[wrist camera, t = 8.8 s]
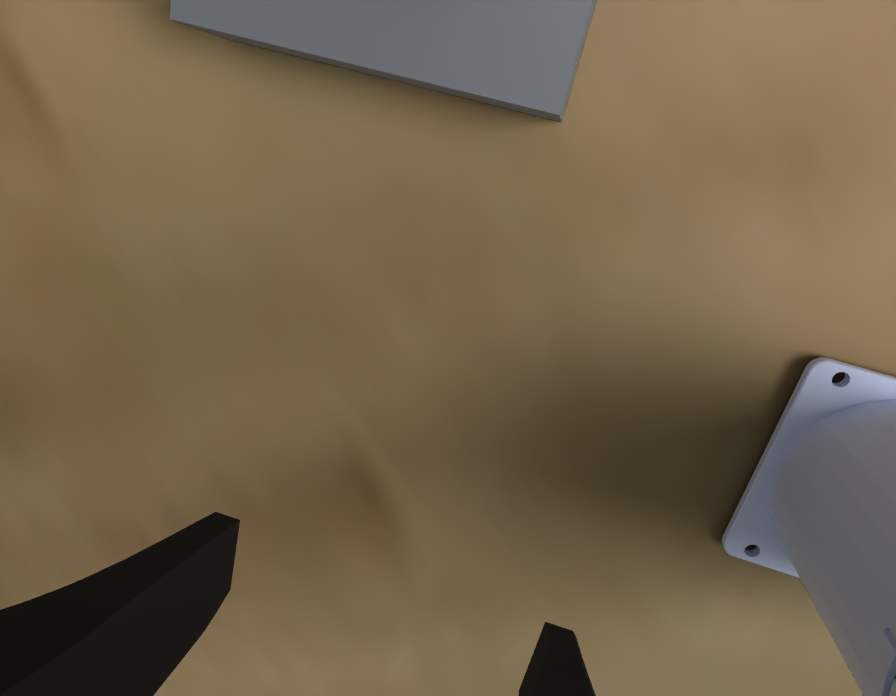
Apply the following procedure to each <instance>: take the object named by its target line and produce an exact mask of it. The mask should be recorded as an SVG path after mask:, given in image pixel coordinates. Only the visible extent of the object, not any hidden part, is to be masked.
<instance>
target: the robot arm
mask: <svg viewBox="0 0 896 696" xmlns="http://www.w3.org/2000/svg"><path fill="white" fill-rule="evenodd" d="M839 372H844V373H845V377H844V379H843V380H842V381H841V382H838V383H832V377H833V376H834V375H835V374H836V373H839ZM239 523H240V520H238V519H235V518H232V517H229V516H226V515H223V514H220V513H217V512H215V513H213V514H211V515H209V516H207V517H205V518H203V519H201V520H199V521H197V522H195V523H193V524H192V525H190V526H188V527H186V528H184V529H182V530H180V531H179V532H177V533H175V534H173V535H171V536H169V537H167V538H166V539H164V540H162V541H160V542H158V543H156V544H154V545H152V546H150V547H148V548H146V549H144V550H142V551H140V552H138V553H137V554H135V555H133V556H131V557H129V558H127V559H125V560H123V561H121V562H119V563H116V564H114V565H112V566H110V567H108V568H106V569H103V570H101V571H99V572H97V573H95V574H93V575H90V576H88V577H86V578H84V579H82V580H79V581H77V582H75V583H72V584H70V585H67V586H65V587H63V588H60V589H58V590H55V591H52V592H50V593H47V594H44V595H42V596H39V597H37V598H34V599H31V600H29V601H26V602H23V603H20V604H17V605H14V606H11V607H8V608H5V609H2V610H0V696H153V695H154V694H155V693H156V691H157V690H158V689H159V688H160V686H161V685H162V684H163V683H164V681H165V680H166V679H167V678H168V676H169V675H170V674H171V673H172V671H173V670H174V669H175V668H176V666H177V665H178V664H179V663H180V661H181V660H182V659H183V658H184V656H185V655H186V654H187V653H188V651H189V650H190V649H191V647H192V646H193V645H194V644H195V642H196V641H197V640H198V639H199V637H200V636H201V635H202V633H203V632H204V631H205V629H206V628H207V626H208V625H209V623H210V621H211V620H212V618H213V617H214V615H215V614H216V612H217V610H218V609H219V607H220V606H221V604H222V602H223V601H224V599H225V597H226V596H227V594H228V592H229V591H230V588H231V580H232V573H233V566H234V559H235V552H236V544H237V537H238V530H239ZM722 544H723V547H724V549H725V551H726V552H727V553H728V554H729V555H731V556H733V557H737V558H740V559H743V560H746V561H749V562H752V563H755V564H758V565H761V566H764V567H767V568H770V569H773V570H777V571H780V572H783V573H786V574H789V575H792V576H795V577H798V578H800V579H801V581H802V583H803V585H804V586H805V588H806V590H807V592H808V594H809V596H810V597H811V599H812V601H813V603H814V605H815V607H816V609H817V610H818V612H819V614H820V616H821V618H822V620H823V622H824V623H825V625H826V627H827V629H828V631H829V633H830V634H831V636H832V638H833V640H834V642H835V644H836V646H837V647H838V649H839V651H840V653H841V655H842V657H843V659H844V660H845V662H846V664H847V666H848V668H849V670H850V672H851V673H852V675H853V677H854V679H855V681H856V683H857V684H858V686H859V688H860V690H861V692H862V694H863V696H896V377H894V376H890V375H887V374H883V373H880V372H876V371H873V370H869V369H865V368H862V367H858V366H855V365H851V364H848V363H844V362H841V361H837V360H833V359H830V358H823V357H820V358H816V359H814V360H812V361H811V362H809V363H808V365H807V366H806V367H805V369H804V371H803V373H802V375H801V377H800V379H799V381H798V383H797V386H796V388H795V390H794V392H793V394H792V396H791V398H790V400H789V402H788V404H787V406H786V408H785V410H784V412H783V414H782V416H781V418H780V420H779V422H778V424H777V426H776V428H775V430H774V432H773V434H772V436H771V439H770V441H769V443H768V445H767V447H766V449H765V451H764V453H763V455H762V457H761V459H760V461H759V463H758V465H757V467H756V469H755V471H754V473H753V475H752V477H751V479H750V481H749V483H748V485H747V487H746V489H745V492H744V494H743V496H742V498H741V500H740V502H739V504H738V506H737V508H736V510H735V512H734V514H733V516H732V518H731V520H730V522H729V524H728V526H727V528H726V530H725V532H724V534H723V537H722ZM748 545H756V546H757V547H756V548H755V549H753V550H746V549H745V548H746V547H747V546H748ZM519 696H596V695H595V693H594V690H593V687H592V684H591V681H590V679H589V676H588V673H587V670H586V667H585V664H584V661H583V658H582V655H581V651H580V648H579V645H578V642H577V638H576V636H575V634H574V632H573V631H571V630H568V629H565V628H562V627H559V626H556V625H553V624H550V623H547V622H545V624H544V627H543V630H542V632H541V635H540V637H539V640H538V643H537V645H536V648H535V650H534V653H533V656H532V658H531V661H530V663H529V666H528V669H527V671H526V674H525V676H524V679H523V682H522V684H521V687H520V689H519Z"/></svg>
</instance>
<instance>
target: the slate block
mask: <svg viewBox="0 0 896 696" xmlns="http://www.w3.org/2000/svg"><path fill="white" fill-rule="evenodd" d="M596 1H597V0H171V3H170V18H169V19H171V20H174V21H177V22H180V23H182V24H185V25H188V26H191V27H194V28H197V29H199V30H202V31H205V32H208V33H211V34H214V35H216V36H219V37H222V38H225V39H229V40H233V41H237V42H241V43H245V44H249V45H253V46H257V47H261V48H265V49H269V50H273V51H277V52H281V53H285V54H289V55H293V56H297V57H301V58H305V59H309V60H313V61H317V62H321V63H326V64H330V65H334V66H338V67H342V68H346V69H350V70H354V71H358V72H362V73H366V74H370V75H374V76H378V77H382V78H386V79H390V80H394V81H398V82H402V83H406V84H410V85H414V86H418V87H422V88H426V89H430V90H434V91H438V92H442V93H447V94H451V95H455V96H459V97H463V98H467V99H471V100H475V101H479V102H483V103H487V104H491V105H495V106H499V107H503V108H507V109H511V110H515V111H519V112H523V113H527V114H531V115H535V116H539V117H543V118H547V119H551V120H555V121H559V122H562V119H563V116H564V113H565V109H566V106H567V102H568V99H569V95H570V92H571V88H572V85H573V81H574V78H575V74H576V71H577V67H578V64H579V60H580V57H581V53H582V50H583V46H584V43H585V39H586V36H587V32H588V29H589V25H590V22H591V18H592V15H593V11H594V8H595V4H596Z"/></svg>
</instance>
